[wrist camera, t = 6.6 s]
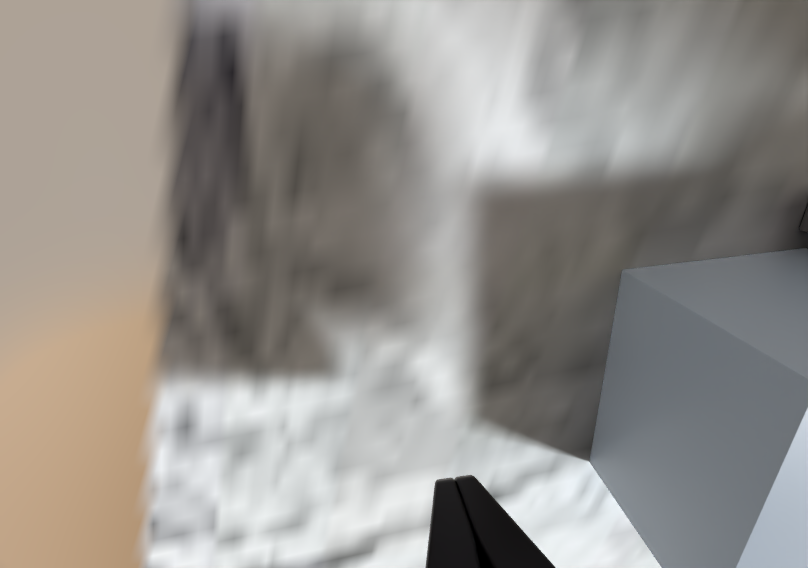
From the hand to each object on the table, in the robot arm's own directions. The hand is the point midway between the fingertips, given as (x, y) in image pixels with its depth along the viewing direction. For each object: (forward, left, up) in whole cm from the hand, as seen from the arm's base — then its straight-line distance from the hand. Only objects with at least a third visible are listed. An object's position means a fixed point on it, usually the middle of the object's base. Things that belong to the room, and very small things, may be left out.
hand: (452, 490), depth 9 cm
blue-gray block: (-9, 0, -3) cm, 9 cm away
